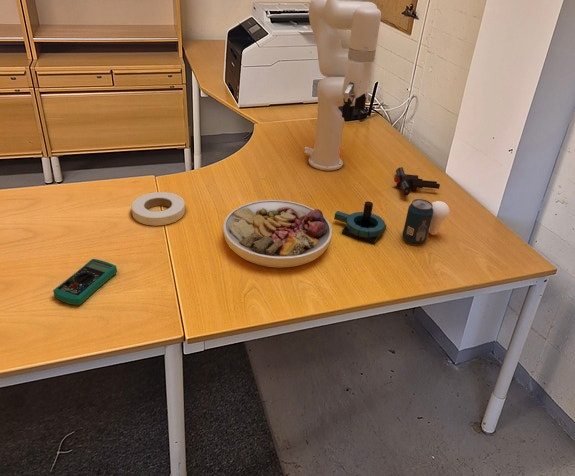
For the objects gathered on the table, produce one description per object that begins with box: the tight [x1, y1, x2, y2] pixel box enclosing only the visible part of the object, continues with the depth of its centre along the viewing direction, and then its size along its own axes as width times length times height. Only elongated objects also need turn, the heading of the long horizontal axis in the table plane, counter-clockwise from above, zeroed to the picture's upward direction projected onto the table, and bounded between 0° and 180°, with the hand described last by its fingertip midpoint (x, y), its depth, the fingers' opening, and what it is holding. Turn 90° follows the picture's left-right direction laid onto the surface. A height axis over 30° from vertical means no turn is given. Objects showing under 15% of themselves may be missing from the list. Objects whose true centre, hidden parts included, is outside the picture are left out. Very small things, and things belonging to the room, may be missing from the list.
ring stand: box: [341, 200, 387, 245], centre depth 151 cm, size 10×10×10 cm
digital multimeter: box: [52, 258, 118, 306], centre depth 124 cm, size 7×15×3 cm, turn 159°
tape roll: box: [131, 191, 186, 227], centre depth 154 cm, size 16×15×3 cm
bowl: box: [222, 199, 333, 269], centre depth 144 cm, size 30×30×8 cm
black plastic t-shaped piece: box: [393, 166, 441, 197], centre depth 177 cm, size 5×20×15 cm
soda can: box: [402, 198, 433, 246], centre depth 148 cm, size 7×7×12 cm
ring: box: [333, 210, 386, 238], centre depth 152 cm, size 15×11×2 cm
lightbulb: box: [428, 200, 450, 236], centre depth 151 cm, size 6×6×11 cm
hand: (353, 113), depth 155 cm, fingers open, 9 cm apart
